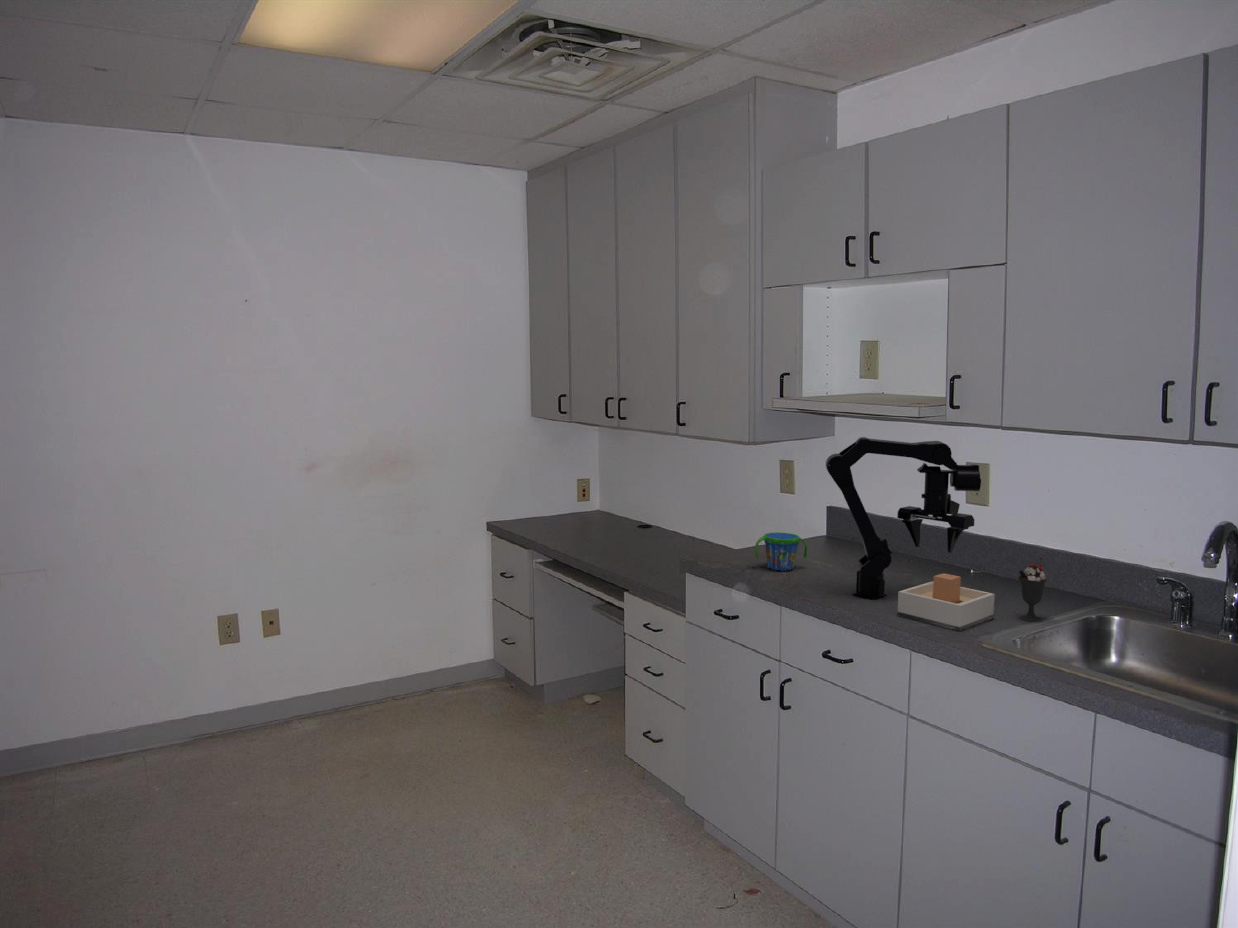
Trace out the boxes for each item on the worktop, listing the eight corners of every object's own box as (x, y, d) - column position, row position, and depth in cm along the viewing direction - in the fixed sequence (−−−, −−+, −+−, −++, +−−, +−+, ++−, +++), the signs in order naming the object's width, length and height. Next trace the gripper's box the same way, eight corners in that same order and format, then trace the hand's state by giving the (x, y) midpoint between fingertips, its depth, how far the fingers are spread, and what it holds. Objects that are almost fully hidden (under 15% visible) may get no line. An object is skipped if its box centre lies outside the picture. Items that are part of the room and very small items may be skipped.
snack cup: (804, 565, 263) (805, 532, 262) (809, 573, 252) (810, 539, 251) (752, 564, 264) (753, 531, 263) (755, 572, 254) (756, 538, 252)
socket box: (897, 615, 211) (898, 591, 210) (932, 604, 221) (933, 581, 221) (959, 631, 199) (960, 605, 198) (993, 618, 209) (994, 594, 208)
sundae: (1049, 618, 209) (1053, 557, 207) (1041, 624, 204) (1044, 562, 202) (1020, 613, 213) (1024, 553, 212) (1011, 619, 208) (1015, 558, 207)
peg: (931, 612, 210) (933, 576, 209) (941, 609, 213) (943, 573, 212) (949, 616, 207) (950, 579, 206) (958, 613, 210) (960, 576, 209)
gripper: (986, 491, 221) (983, 551, 223) (920, 483, 235) (917, 539, 237) (964, 495, 214) (961, 557, 216) (897, 487, 228) (895, 545, 230)
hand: (933, 549), depth 225 cm, fingers open, 9 cm apart
